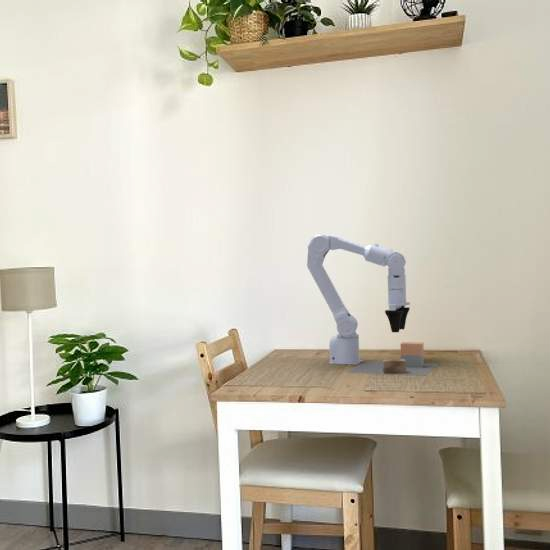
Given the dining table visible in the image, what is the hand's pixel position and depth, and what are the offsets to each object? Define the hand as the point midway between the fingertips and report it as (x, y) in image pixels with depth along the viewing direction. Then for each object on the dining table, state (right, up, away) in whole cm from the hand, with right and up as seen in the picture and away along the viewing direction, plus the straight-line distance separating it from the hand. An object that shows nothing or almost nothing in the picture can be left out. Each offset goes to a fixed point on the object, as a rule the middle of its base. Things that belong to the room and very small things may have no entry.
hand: (398, 330), depth 204 cm
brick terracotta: (+2, -7, -10) cm, 12 cm away
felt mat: (-4, -11, -11) cm, 16 cm away
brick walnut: (-5, -11, -18) cm, 22 cm away
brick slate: (+3, -10, -9) cm, 14 cm away
